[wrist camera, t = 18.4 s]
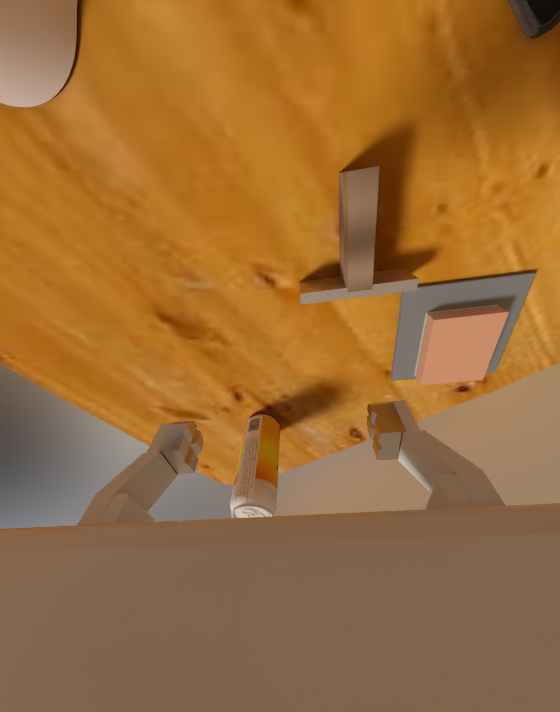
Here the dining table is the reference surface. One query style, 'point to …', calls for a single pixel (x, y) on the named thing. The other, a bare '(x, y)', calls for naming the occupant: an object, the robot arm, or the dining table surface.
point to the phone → (536, 15)
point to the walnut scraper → (357, 246)
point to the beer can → (257, 469)
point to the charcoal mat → (456, 296)
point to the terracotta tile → (458, 344)
